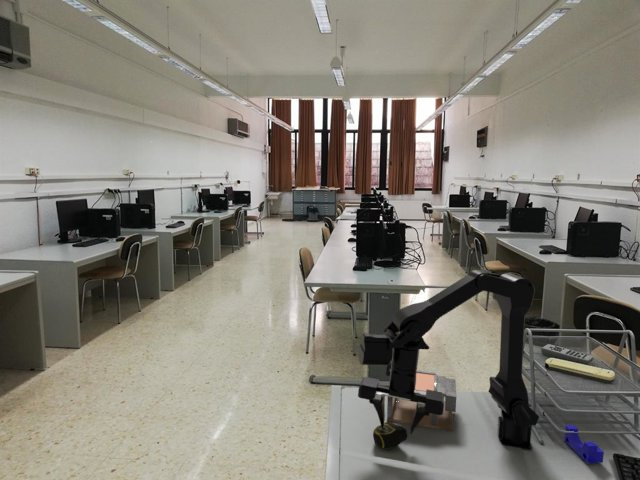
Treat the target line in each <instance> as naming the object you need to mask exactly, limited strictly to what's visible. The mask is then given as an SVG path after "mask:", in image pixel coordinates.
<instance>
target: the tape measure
mask: <svg viewBox="0 0 640 480" xmlns="http://www.w3.org/2000/svg"><path fill="white" fill-rule="evenodd" d="M372 432H373V433H372V437H373V441H374V443H375V445H376V446H377V447H379V448H380V449H392V448H396V447H398V446H399V445H401V444H402V443H403V442H404V441H406V440H407V438H408V436H409V434H408V431H407V429H406V428H405V427H403V426H400V425H399V424H396V423H393V422H392V421H387V420H386V421H384V427H381V424H380V425H377V426H376V427H375V428H374V429H373V431H372Z"/></svg>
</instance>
